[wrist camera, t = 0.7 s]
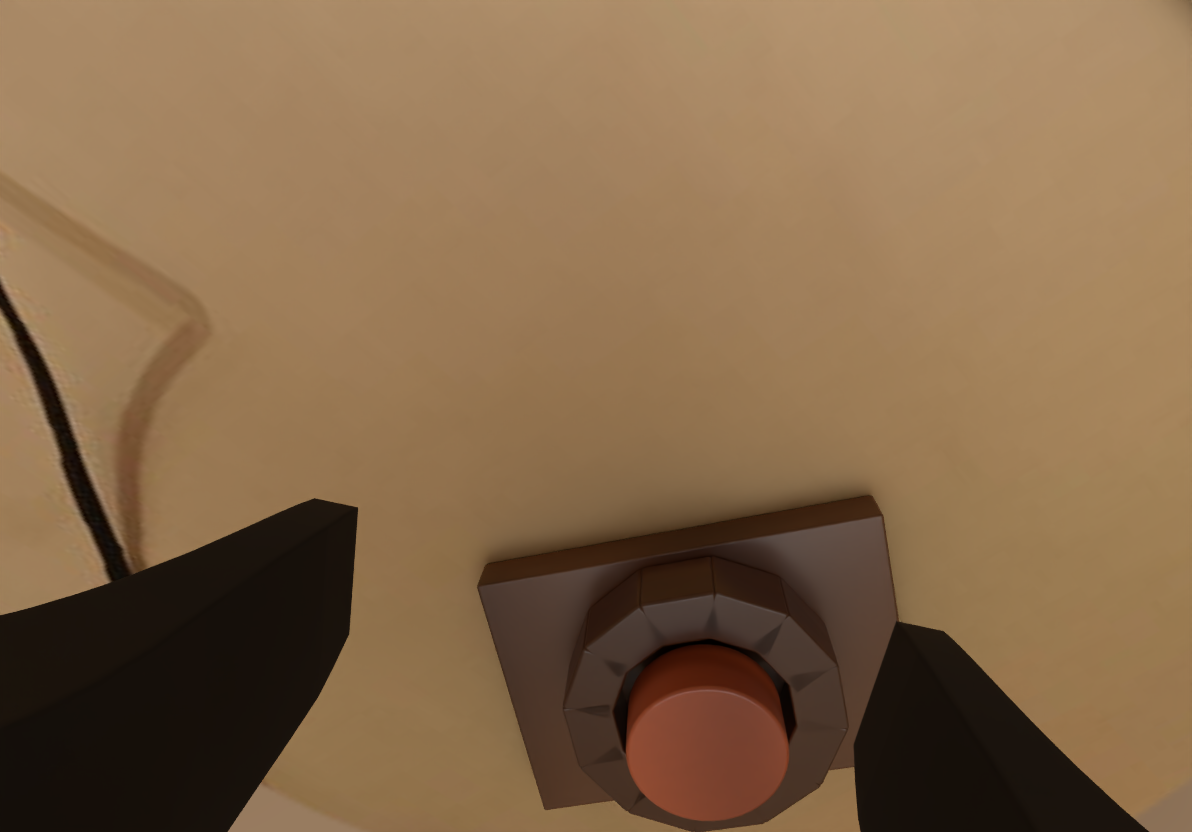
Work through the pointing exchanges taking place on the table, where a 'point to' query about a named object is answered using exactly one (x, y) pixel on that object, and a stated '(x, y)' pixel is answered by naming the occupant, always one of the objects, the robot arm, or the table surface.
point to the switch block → (694, 640)
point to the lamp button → (706, 733)
